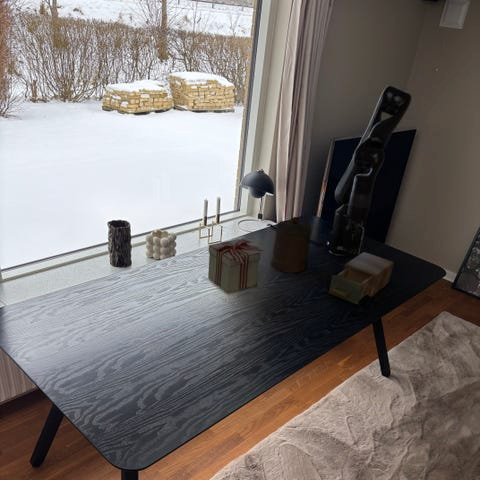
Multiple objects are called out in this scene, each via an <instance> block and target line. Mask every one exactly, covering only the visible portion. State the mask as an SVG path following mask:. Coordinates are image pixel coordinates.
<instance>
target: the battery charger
mask: <svg viewBox="0 0 480 480" xmlns="http://www.w3.org/2000/svg"><path fill="white" fill-rule="evenodd" d="M347 226H348V225H347ZM352 232H354V231H352ZM364 235H365V227H364V228H363V227H362V226H359V228H358V229H357V231H356V234H355V235H354V238H353V243H352V248H351V249H350V250H349V249H346V248H345V247H346V242H347V239H345V241H344V246H343V249H342V251H343V252H345V253H347V254H348V255H350V256H355V257H357V256H359V255H360V254H361V253H360V252H361V248H362V244H363V240H364Z"/></svg>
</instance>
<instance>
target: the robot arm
mask: <svg viewBox="0 0 480 480" xmlns="http://www.w3.org/2000/svg"><path fill="white" fill-rule="evenodd" d="M412 99H413V98H412V94H410V93H409V92H407V91H404V90H402V89H400V88H398V87H396V86H394V85H387V86H386V87H385V88H384V89H383V91H382V92H381V94H380V97H379V99H378V102H377V104H376V106H375V109H374V111H373V114H372V117H371V119H370V120H369V121H370V122H369V124H368V126H367V128H366V130H365V132H364V134H363V135H362V137H361V140H360V142H359V144H358V146H357V147H356V149H355V150H354V152H353V155H352V159H351V161H350V163H349V165H348V167H347V168H346V171H345V172H344V174H343V175H342V177H341V179H340V181H339V182H338V184H337V186H336V189H335V191H334V199H335V201H336V203H337V204H339V205H342V206H340V207H339V208H338V209H336V210H335V214H334V220H333V224H332V225H333V226H332V231H330V233H329V237H328V239H327V240H323V241H320V242H316V241H314V240H312V239H311V238H310V239H309V243H311V244H314V245H317V246H321V245H322V244H325V247H327V250H326V251H327V252H328V253H329V254H331V255H332V256H336V257H348V255H349V254H347V253H345V252H343V251H342V249H343V246H344V241H345V239H347V242H346V247H345V248H346V249H349V250H350V249H351V248H352V243H353V238H354V235H355V234H356V231H357V229H358V228H359V226H362V227H363V228H364V229H365V226H366V222H367V218H368V216H369V213H370V208H371V203H372V202H371V201H372V195H373V189H374V185H375V181H376V178H377V175H378V174H379V171H380V169H381V168H382V166H383V164H384V162H385V158H386V157H385V156H386V155H385V154H386V153H385V152H384V149H386V146H387V144H388V142H389V140H390V137H391V135H392V134H393V133H394V131H395V129H396V128H397V127H398V125H399V124H400V122H401V121H402V119H403V118H404V117H405V115H406V113H407V111H408V109H409V106H410V105H411V102H412ZM383 113H384V114H386V115H389V116H390V117H387V118H386V119H382V117H383ZM369 170H370V171H369ZM368 171H369V172H368ZM367 172H368V173H367ZM347 225H348V226H347ZM272 226H274V225H273V224H271V223H268V224H266V227H271V228H273V229H274V230H277V226H274V227H272ZM352 231H354V232H352Z"/></svg>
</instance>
